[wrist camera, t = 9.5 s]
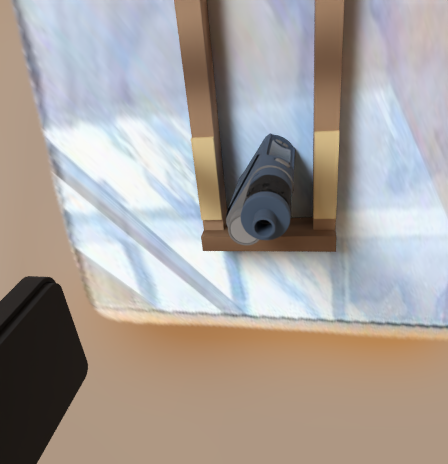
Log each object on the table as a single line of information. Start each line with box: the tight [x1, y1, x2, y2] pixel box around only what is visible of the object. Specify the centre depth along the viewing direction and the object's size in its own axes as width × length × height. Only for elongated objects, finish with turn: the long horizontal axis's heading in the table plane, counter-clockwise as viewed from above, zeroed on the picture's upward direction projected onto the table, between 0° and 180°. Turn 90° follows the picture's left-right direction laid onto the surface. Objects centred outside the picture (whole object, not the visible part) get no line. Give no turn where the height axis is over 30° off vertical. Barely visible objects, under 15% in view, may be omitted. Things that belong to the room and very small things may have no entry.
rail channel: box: [174, 0, 344, 252], centre depth 25 cm, size 24×10×3 cm, turn 5°
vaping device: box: [226, 134, 295, 245], centre depth 24 cm, size 3×5×12 cm, turn 151°
